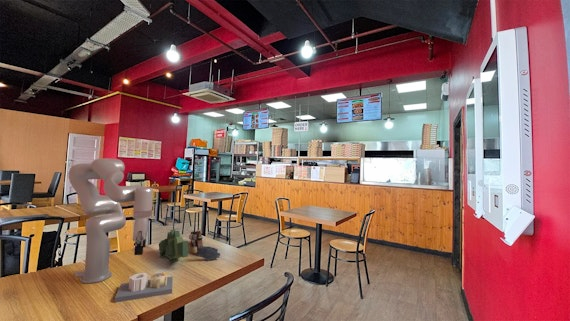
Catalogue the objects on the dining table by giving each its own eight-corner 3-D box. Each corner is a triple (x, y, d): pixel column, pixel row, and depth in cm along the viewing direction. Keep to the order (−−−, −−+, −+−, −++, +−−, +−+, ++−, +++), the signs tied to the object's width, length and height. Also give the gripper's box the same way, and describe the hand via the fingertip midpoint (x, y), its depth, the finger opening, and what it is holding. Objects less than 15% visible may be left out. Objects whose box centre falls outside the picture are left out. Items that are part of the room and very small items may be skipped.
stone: (217, 257, 156) (217, 241, 156) (221, 260, 151) (221, 244, 152) (195, 261, 147) (196, 245, 147) (198, 265, 143) (199, 248, 143)
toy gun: (195, 251, 180) (195, 230, 183) (204, 254, 157) (204, 230, 160) (188, 252, 177) (188, 231, 181) (197, 255, 154) (197, 230, 158)
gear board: (114, 302, 102) (115, 284, 102) (120, 287, 114) (121, 271, 114) (172, 293, 111) (172, 276, 111) (172, 280, 123) (173, 265, 123)
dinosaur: (197, 257, 137) (194, 223, 142) (176, 262, 129) (174, 226, 134) (177, 260, 161) (175, 231, 166) (158, 264, 153) (157, 233, 158)
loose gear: (127, 292, 106) (128, 281, 106) (130, 285, 113) (130, 274, 113) (146, 289, 109) (147, 278, 110) (148, 282, 116) (148, 272, 116)
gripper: (136, 210, 119) (133, 245, 119) (129, 218, 103) (127, 258, 103) (153, 210, 122) (151, 244, 122) (149, 217, 106) (147, 257, 106)
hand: (140, 250), depth 112 cm, fingers open, 9 cm apart
